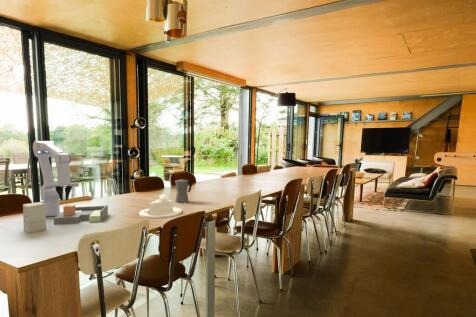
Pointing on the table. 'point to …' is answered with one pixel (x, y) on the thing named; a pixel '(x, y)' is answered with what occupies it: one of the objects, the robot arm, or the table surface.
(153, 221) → the table surface
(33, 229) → the supplement box
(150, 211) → the dish
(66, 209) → the block
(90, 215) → the board
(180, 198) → the coffeepot
